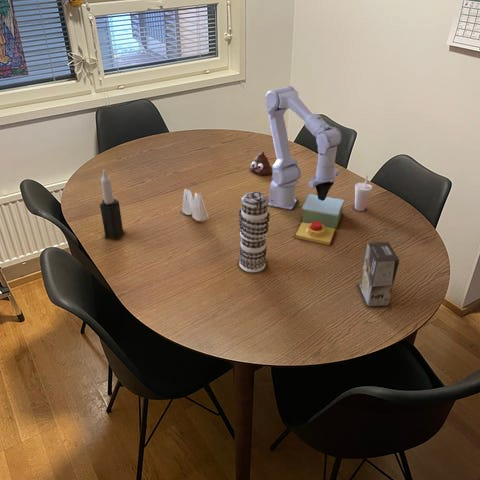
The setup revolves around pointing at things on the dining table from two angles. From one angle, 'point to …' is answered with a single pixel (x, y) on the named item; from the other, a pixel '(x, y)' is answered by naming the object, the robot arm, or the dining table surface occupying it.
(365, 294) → the coffee box
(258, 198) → the plaid banded cylinder
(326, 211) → the pale blue lid
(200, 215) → the shaker set
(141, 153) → the dining table surface
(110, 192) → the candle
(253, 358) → the dining table surface
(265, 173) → the cartoon dung pile
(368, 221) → the dining table surface
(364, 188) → the smoothie
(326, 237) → the yellow button base
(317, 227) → the button
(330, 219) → the panel
